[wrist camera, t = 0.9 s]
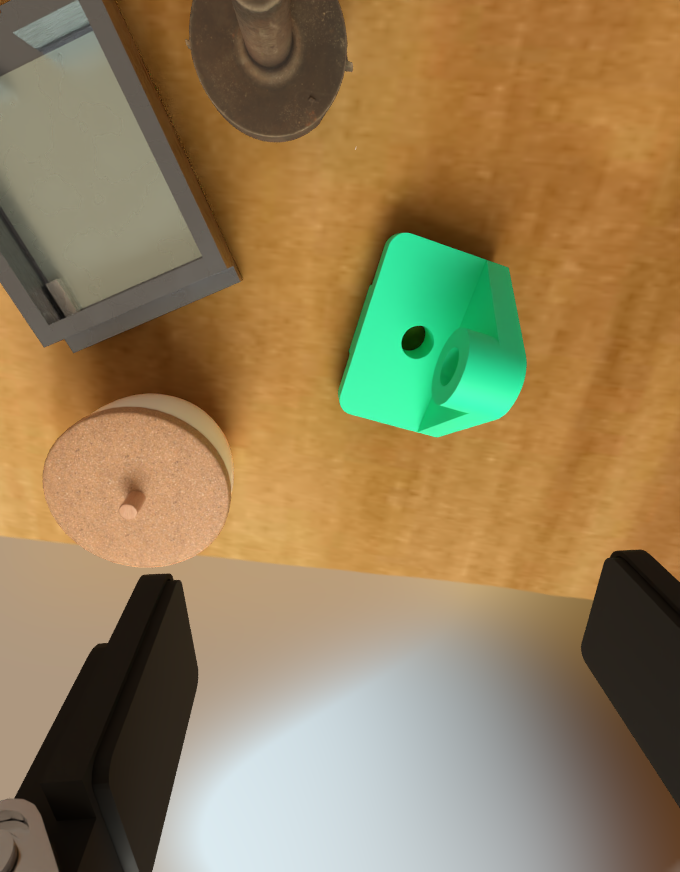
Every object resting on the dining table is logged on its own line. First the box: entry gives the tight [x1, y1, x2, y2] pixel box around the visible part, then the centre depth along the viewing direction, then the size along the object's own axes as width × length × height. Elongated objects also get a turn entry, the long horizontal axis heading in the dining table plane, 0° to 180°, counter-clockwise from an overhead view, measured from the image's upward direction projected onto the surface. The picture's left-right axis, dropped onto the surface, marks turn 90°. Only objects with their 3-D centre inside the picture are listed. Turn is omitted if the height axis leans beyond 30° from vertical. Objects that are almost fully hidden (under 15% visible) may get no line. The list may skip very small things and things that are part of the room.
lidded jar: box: [43, 393, 234, 567], centre depth 30 cm, size 11×11×9 cm
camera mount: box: [338, 233, 527, 437], centre depth 28 cm, size 12×8×10 cm, turn 163°
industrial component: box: [185, 0, 356, 149], centre depth 21 cm, size 9×7×12 cm
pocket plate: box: [0, 0, 243, 353], centre depth 26 cm, size 12×16×4 cm
